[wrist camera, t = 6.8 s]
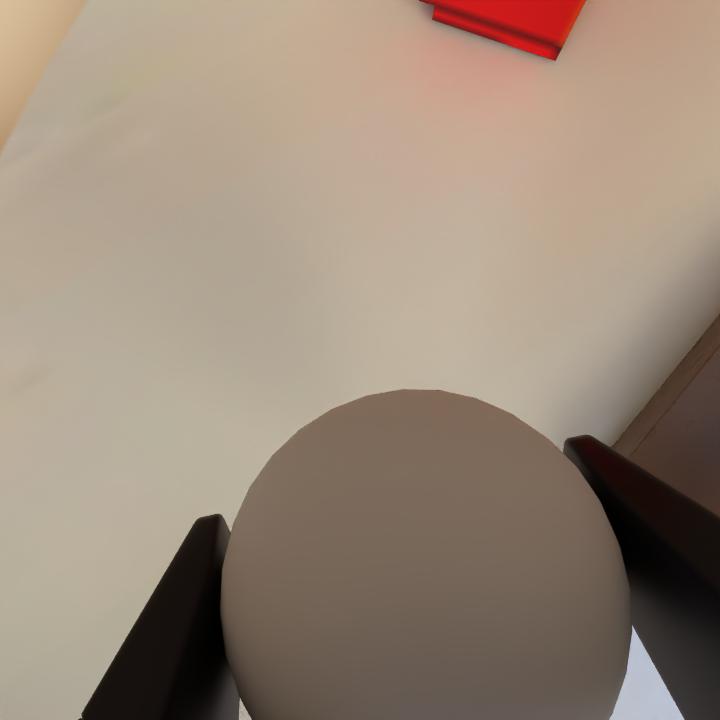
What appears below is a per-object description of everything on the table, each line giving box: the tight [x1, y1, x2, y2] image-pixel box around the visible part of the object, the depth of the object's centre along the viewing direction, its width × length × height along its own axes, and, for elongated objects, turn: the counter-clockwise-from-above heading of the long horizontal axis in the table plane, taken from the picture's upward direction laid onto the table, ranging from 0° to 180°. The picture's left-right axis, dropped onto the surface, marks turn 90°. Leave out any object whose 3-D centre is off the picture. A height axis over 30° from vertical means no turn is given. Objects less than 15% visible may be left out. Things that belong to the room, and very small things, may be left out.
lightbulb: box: [220, 389, 632, 720], centre depth 11 cm, size 6×6×11 cm
